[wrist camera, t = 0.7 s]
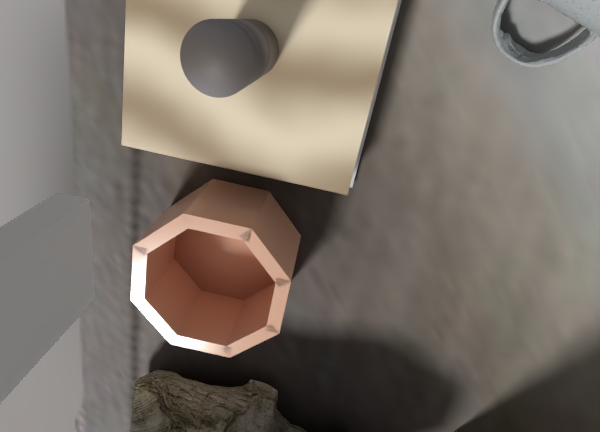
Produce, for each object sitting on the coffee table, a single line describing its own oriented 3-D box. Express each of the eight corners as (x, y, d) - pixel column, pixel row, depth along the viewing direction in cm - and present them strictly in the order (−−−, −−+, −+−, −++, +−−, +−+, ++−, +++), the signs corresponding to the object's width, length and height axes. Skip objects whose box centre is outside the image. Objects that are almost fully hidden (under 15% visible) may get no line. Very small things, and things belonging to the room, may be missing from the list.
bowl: (173, 169, 35) (134, 202, 29) (309, 199, 35) (300, 239, 29) (163, 284, 40) (128, 334, 34) (284, 311, 40) (271, 367, 33)
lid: (153, -119, 27) (36, -203, 17) (410, -64, 27) (447, -115, 17) (141, 134, 34) (51, 183, 24) (347, 180, 34) (346, 249, 23)
